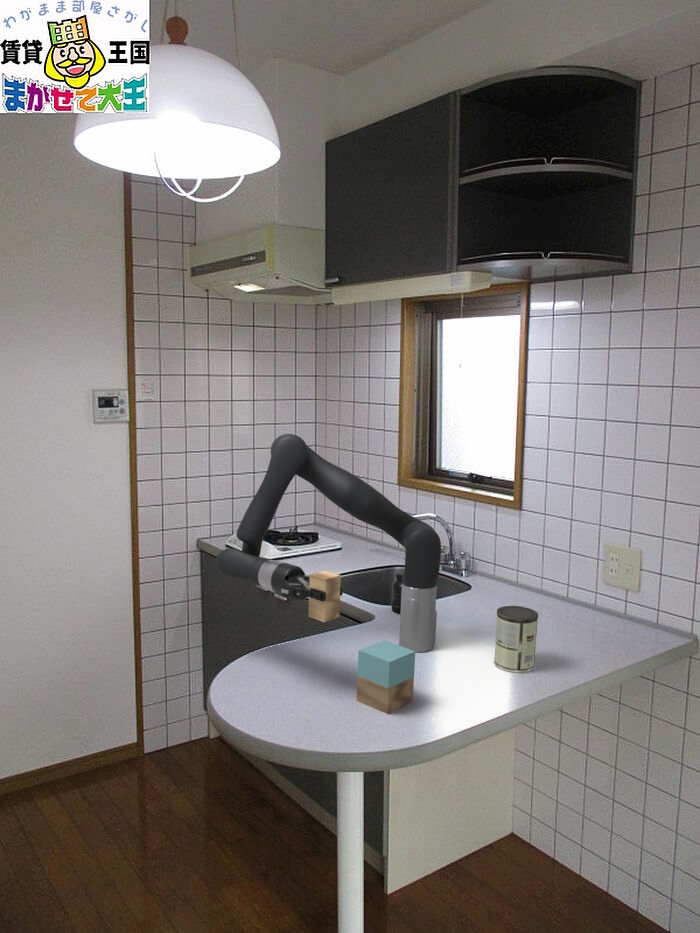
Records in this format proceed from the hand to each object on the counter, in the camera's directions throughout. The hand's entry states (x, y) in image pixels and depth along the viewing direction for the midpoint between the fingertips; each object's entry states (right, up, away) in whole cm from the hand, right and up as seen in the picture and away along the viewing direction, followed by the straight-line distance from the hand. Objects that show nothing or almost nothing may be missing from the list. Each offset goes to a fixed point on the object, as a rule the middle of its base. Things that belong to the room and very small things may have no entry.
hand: (333, 594), depth 176 cm
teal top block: (+12, -18, -2) cm, 22 cm away
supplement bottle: (+20, -15, +61) cm, 66 cm away
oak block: (-2, -6, +3) cm, 7 cm away
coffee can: (+46, -22, +22) cm, 55 cm away
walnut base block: (+12, -24, -1) cm, 27 cm away
